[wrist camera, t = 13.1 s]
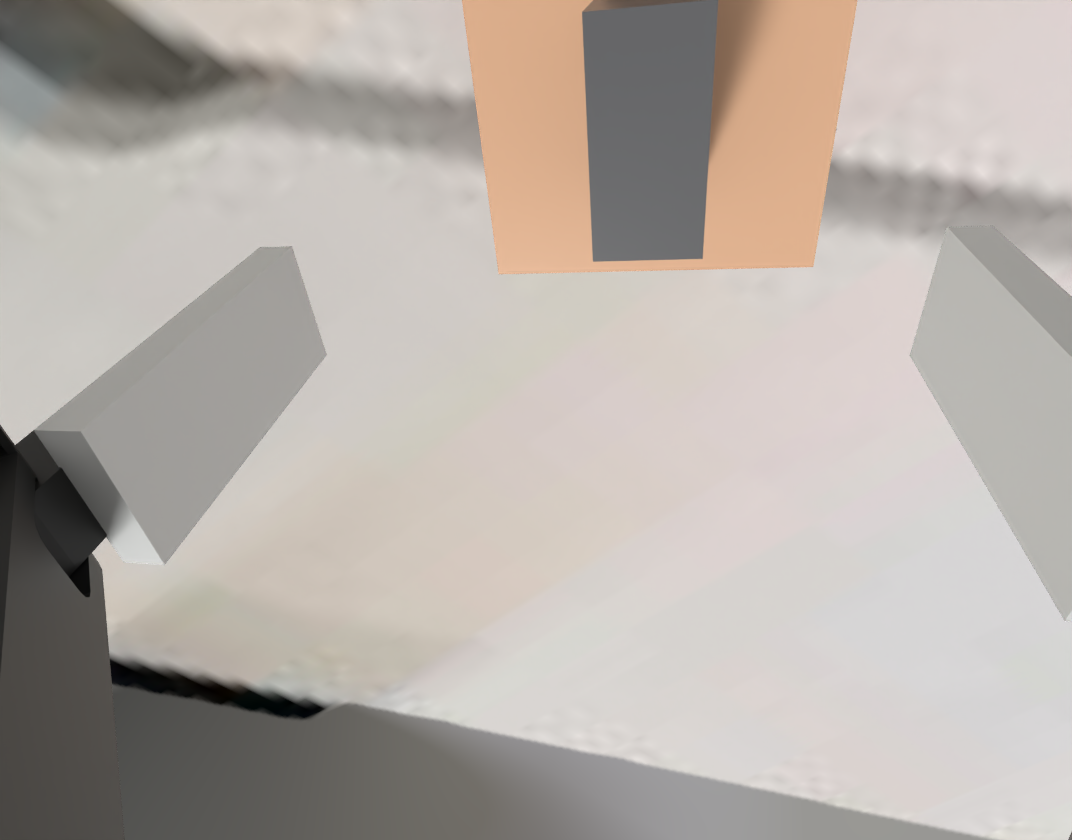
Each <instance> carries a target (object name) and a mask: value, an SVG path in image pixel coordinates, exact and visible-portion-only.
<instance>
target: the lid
mask: <svg viewBox="0 0 1072 840" xmlns="http://www.w3.org/2000/svg"><path fill="white" fill-rule="evenodd" d="M462 4H463V11H464V19H465V26H466V34H467V41H468V49H469V56H470V63H471V71H472V78H473V86H474V93H475V101H476V108H477V116H478V123H479V130H480V138H481V145H482V153H483V160H484V168H485V175H486V183H487V190H488V197H489V205H490V212H491V220H492V227H493V235H494V242H495V250H496V257H497V264H498V272H499V274H526V273H569V272H613V271H657V270H700V269H744V268H788V267H813V265H814V259H815V253H816V247H817V241H818V235H819V228H820V222H821V216H822V210H823V204H824V198H825V192H826V186H827V180H828V174H829V168H830V162H831V156H832V150H833V144H834V138H835V132H836V126H837V120H838V114H839V108H840V102H841V96H842V90H843V84H844V78H845V72H846V66H847V60H848V54H849V48H850V42H851V36H852V30H853V24H854V18H855V11H856V5H857V0H462Z"/></svg>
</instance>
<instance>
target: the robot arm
mask: <svg viewBox="0 0 1072 840" xmlns="http://www.w3.org/2000/svg"><path fill="white" fill-rule="evenodd" d="M325 356H326V351H325V348H324V345H323V342H322V339H321V336H320V333H319V330H318V327H317V323H316V320H315V317H314V314H313V311H312V308H311V305H310V302H309V298H308V295H307V292H306V289H305V286H304V283H303V280H302V277H301V273H300V270H299V267H298V264H297V261H296V258H295V255H294V252H293V249H292V246H290V247H260V248H258V249H257V250H256V251H255V252H254V253H252V254H251V255H250V256H249V257H247V258H246V259H245V260H244V261H242V262H241V263H240V264H239V265H237V266H236V267H235V268H234V269H233V270H231V271H230V272H229V273H228V274H226V275H225V276H224V277H223V278H221V279H220V280H219V281H218V282H216V283H215V284H214V285H213V286H212V287H210V288H209V289H208V290H207V291H205V292H204V293H203V294H202V295H200V296H199V297H198V298H197V299H195V300H194V301H193V302H192V303H190V304H189V305H188V306H187V307H186V308H184V309H183V310H182V311H181V312H179V313H178V314H177V315H176V316H174V317H173V318H172V319H171V320H169V321H168V322H167V323H166V324H165V325H163V326H162V327H161V328H160V329H158V330H157V331H156V332H155V333H153V334H152V335H151V336H150V337H148V338H147V339H146V340H145V341H144V342H142V343H141V344H140V345H139V346H137V347H136V348H135V349H134V350H132V351H131V352H130V353H129V354H127V355H126V356H125V357H124V358H122V359H121V360H120V361H119V362H118V363H116V364H115V365H114V366H113V367H111V368H110V369H109V370H108V371H106V372H105V373H104V374H103V375H101V376H100V377H99V378H98V379H97V380H95V381H94V382H93V383H92V384H90V385H89V386H88V387H87V388H85V389H84V390H83V391H82V392H80V393H79V394H78V395H77V396H75V397H74V398H73V399H72V400H71V401H69V402H68V403H67V404H66V405H64V406H63V407H62V408H61V409H59V410H58V411H57V412H56V413H54V414H53V415H52V416H51V417H50V418H48V419H47V420H46V421H45V422H43V423H42V424H41V425H40V426H38V427H37V428H36V429H35V430H34V431H32V432H31V433H30V434H29V435H27V436H26V437H25V438H24V439H22V440H21V441H20V442H19V443H17V444H16V445H14V443H13V442H12V441H11V439H10V438H9V436H8V435H7V434H6V432H5V431H4V429H3V428H2V427H1V425H0V840H125V839H124V827H123V815H122V803H121V791H120V780H119V767H118V756H117V743H116V731H115V719H114V707H113V695H112V683H111V671H110V659H109V647H108V635H107V623H106V611H105V599H104V587H103V575H102V569H101V567H100V565H99V563H98V561H97V560H96V558H95V557H94V555H93V554H92V552H93V551H94V550H95V549H96V547H97V546H98V545H99V544H100V543H101V542H102V541H103V540H104V539H105V537H107V539H108V540H109V542H110V543H111V545H112V546H113V548H114V549H115V551H116V552H117V554H118V555H119V556H120V558H121V559H122V561H123V562H126V563H142V564H158V565H165V564H166V562H167V561H168V560H169V559H170V557H171V556H172V555H173V553H174V552H175V551H176V549H177V548H178V547H179V546H180V544H181V543H182V542H183V540H184V539H185V538H186V537H187V535H188V534H189V533H190V531H191V530H192V529H193V527H194V526H195V525H196V524H197V522H198V521H199V520H200V518H201V517H202V516H203V514H204V513H205V512H206V511H207V509H208V508H209V507H210V505H211V504H212V503H213V502H214V500H215V499H216V498H217V496H218V495H219V494H220V492H221V491H222V490H223V489H224V487H225V486H226V485H227V483H228V482H229V481H230V479H231V478H232V477H233V476H234V474H235V473H236V472H237V470H238V469H239V468H240V467H241V465H242V464H243V463H244V461H245V460H246V459H247V457H248V456H249V455H250V454H251V452H252V451H253V450H254V448H255V447H256V446H257V445H258V443H259V442H260V441H261V439H262V438H263V437H264V435H265V434H266V433H267V432H268V430H269V429H270V428H271V426H272V425H273V424H274V422H275V421H276V420H277V419H278V417H279V416H280V415H281V413H282V412H283V411H284V410H285V408H286V407H287V406H288V404H289V403H290V402H291V400H292V399H293V398H294V397H295V395H296V394H297V393H298V391H299V390H300V389H301V388H302V386H303V385H304V384H305V382H306V381H307V380H308V378H309V377H310V376H311V375H312V373H313V372H314V371H315V369H316V368H317V367H318V365H319V364H320V363H321V362H322V360H323V359H324V358H325ZM910 357H911V359H912V360H913V362H914V364H915V365H916V367H917V369H918V371H919V372H920V374H921V376H922V377H923V379H924V381H925V382H926V384H927V386H928V388H929V389H930V391H931V393H932V394H933V396H934V398H935V400H936V401H937V403H938V405H939V406H940V408H941V410H942V412H943V413H944V415H945V417H946V418H947V420H948V422H949V424H950V425H951V427H952V429H953V430H954V432H955V434H956V436H957V437H958V439H959V441H960V442H961V444H962V446H963V448H964V449H965V451H966V453H967V454H968V456H969V458H970V460H971V461H972V463H973V465H974V466H975V468H976V470H977V472H978V473H979V475H980V477H981V478H982V480H983V482H984V484H985V485H986V487H987V489H988V490H989V492H990V494H991V496H992V497H993V499H994V501H995V502H996V504H997V506H998V508H999V509H1000V511H1001V513H1002V514H1003V516H1004V518H1005V520H1006V521H1007V523H1008V525H1009V526H1010V528H1011V530H1012V532H1013V533H1014V535H1015V537H1016V538H1017V540H1018V542H1019V544H1020V545H1021V547H1022V549H1023V550H1024V552H1025V554H1026V556H1027V557H1028V559H1029V561H1030V562H1031V564H1032V566H1033V567H1034V569H1035V571H1036V573H1037V574H1038V576H1039V578H1040V579H1041V581H1042V583H1043V585H1044V586H1045V588H1046V590H1047V591H1048V593H1049V595H1050V597H1051V598H1052V600H1053V602H1054V603H1055V605H1056V607H1057V609H1058V610H1059V612H1060V614H1061V615H1062V617H1063V619H1064V621H1069V622H1072V296H1070V295H1069V294H1068V293H1067V292H1066V291H1065V290H1064V289H1063V288H1061V287H1060V286H1059V285H1058V284H1057V283H1056V282H1055V281H1054V280H1053V279H1051V278H1050V277H1049V276H1048V275H1047V274H1046V273H1045V272H1044V271H1043V270H1041V269H1040V268H1039V267H1038V266H1037V265H1036V264H1035V263H1034V262H1033V261H1031V260H1030V259H1029V258H1028V257H1027V256H1026V255H1025V254H1024V253H1023V252H1021V251H1020V250H1019V249H1018V248H1017V247H1016V246H1015V245H1014V244H1013V243H1011V242H1010V241H1009V240H1008V239H1007V238H1006V237H1005V236H1004V235H1003V234H1001V233H1000V232H999V231H998V230H997V229H996V228H995V227H994V226H964V227H947V228H946V232H945V235H944V239H943V242H942V246H941V249H940V253H939V256H938V260H937V263H936V267H935V270H934V273H933V277H932V280H931V284H930V287H929V291H928V294H927V298H926V301H925V305H924V308H923V311H922V315H921V318H920V322H919V325H918V329H917V332H916V336H915V339H914V343H913V346H912V350H911V353H910ZM1068 840H1072V833H1071V835H1070V837H1069V839H1068Z"/></svg>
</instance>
